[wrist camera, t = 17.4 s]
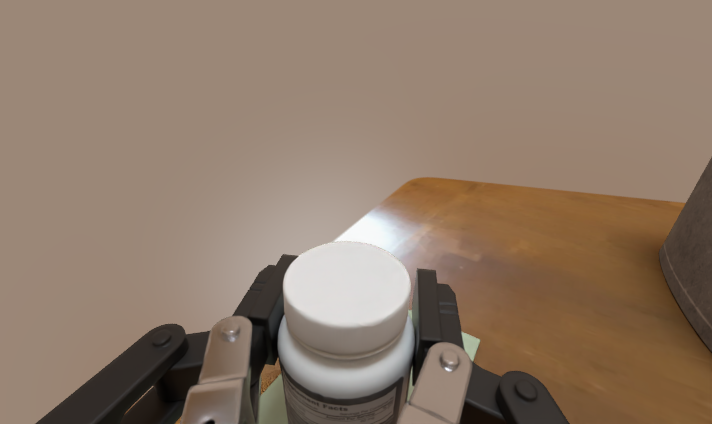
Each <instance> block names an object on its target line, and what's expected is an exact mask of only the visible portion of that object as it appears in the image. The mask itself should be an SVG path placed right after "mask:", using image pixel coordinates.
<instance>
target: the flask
mask: <svg viewBox="0 0 712 424" xmlns="http://www.w3.org/2000/svg"><path fill="white" fill-rule="evenodd" d="M659 259H660V264H661V268H662V271H663V274H664V276H665V279H666V281H667V283H668V285H669V288H670V290H671V291H672V293H673V295H674V297H675V299H676V301H677V302H678V304H679V306H680V308H681V309H682V311H683V313H684V314H685V316H686V317H687V319H688V320H689V322H690V323H691V325H692V326H693V328H694V329H695V331H696V332H697V333H698V335H699V336H700V337H701V339H702V340H703V342H704V343H705V344H706V346H707V347H708V348H709V349H710V351H711V352H712V158H711V159H710V161H709V163H708V165H707V167H706V169H705V170H704V172H703V174H702V175H701V177H700V179H699V181H698V183H697V184H696V186H695V188H694V190H693V192H692V193H691V195H690V197H689V199H688V201H687V202H686V204H685V206H684V208H683V210H682V211H681V213H680V215H679V217H678V219H677V220H676V222H675V224H674V226H673V228H672V229H671V231H670V233H669V235H668V236H667V238H666V240H665V242H664V244H663V245H662V247H661V249H660V251H659Z"/></svg>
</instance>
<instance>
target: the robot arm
mask: <svg viewBox="0 0 712 424" xmlns="http://www.w3.org/2000/svg"><path fill="white" fill-rule="evenodd" d="M297 257H298V256H295V255H286V254H285V255H284V254H283V255H282V256H281V258H280V260H279V261H278V263H277V265H276V266H275V265H269V266H267V267H266V268H265V269H264V270H262V271H261V272H259V274H258V276H257V277H256V279H255V281H254V283H253V284H252V285H251V287H250V290H248V292H247V293H246V295H245V296H244V298H243V299H242V301H241V303H240V304H239V306H238V307H237V309H236V311H235V312H234V314H233V315H232V316H231V317H228V318H225V319H223V320H221V321H219V322H218V323H217V324H215V325H214V327H213V328H212V330H211V331H207V332H200V333H193V334H186V333H185V330H184V329H183V327H182V326H180V325H177V324H165V325H161V326H159V327H156V328H154V329H152V330H151V331H149V332H148V333H147V334H145V335H144V336H143V337H142V338H140V339H139V340H138V341H137V342H135V343H134V344H133V345H132V346H131V347H129V348H128V349H127V350H126V351H124V352H123V353H122V354H121V355H119V356H118V357H117V358H116V359H115V360H113V361H112V362H111V363H110V364H108V365H107V366H106V367H105V368H103V369H102V370H101V371H100V372H99V373H97V374H96V375H95V376H94V377H92V378H91V379H90V380H89V381H87V382H86V383H85V384H84V385H83V386H81V387H80V388H79V389H78V390H76V391H75V392H74V393H73V394H71V395H70V396H69V397H68V398H66V399H65V400H64V401H63V402H62V403H60V404H59V405H58V406H57V407H55V408H54V409H53V410H52V411H51V412H49V413H48V414H47V415H46V416H44V417H43V418H42V419H41V420H39V421H38V422H37V423H36V424H175V423H176V421H177V420H178V419H179V418H180V417H181V416H182V417H181V421H180V424H259V412H260V395H261V372H262V370H263V368H264V365H265V364H269V365H275V363H276V360H277V358H278V346H277V345H278V332H279V327H280V324H281V321H282V318H283V316H284V314H285V313H284V296H283V280H284V276H285V273H286V271H287V269H288V268H289V266H290V264H291V263H292V262H293V261H294V260H295V259H296V258H297ZM412 323H413V326H414V332H415V352H414V357H413V363H412V386H414V389H413V391H412V394H411V396H410V399H409V401H406V402H405V404H404V406H403V408H402V411H401V413H400V416H399V418H398V421H397V423H396V424H569V422H568V421H567V419H566V418H565V416H564V415H563V413H562V412H561V410H560V408H559V407H558V405H557V404H556V402H555V401H554V399H553V398H552V396H551V395H550V393H549V392H548V390H547V389H546V387H545V386H544V385H543V384H542V383H541V382H540V381H539V380H538V379H536V378H535V377H533V376H531V375H529V374H527V373H524V372H521V371H510V372H507V373H505V374H504V375H503V376H502V377H501V376H498V375H496V374H494V373H491V372H489V371H486V370H484V369H482V368H481V367H479V366H478V365H476V364H475V363H474V362H473V361H472V360H471V359H470V357H469V355H468V354H467V353H466V351H465V349H464V344H463V338H462V332H461V326H460V320H459V315H458V308H457V302H456V296H455V293H454V292H453V291H452V289H451V288H450V286H449V285H447V284H438V283H437V278H436V271H435V270H427V269H418V268H417V271H416V278H415V286H414V293H413V302H412ZM152 386H154V387H153V388H151V387H152ZM150 388H151V389H150ZM149 389H150V390H149ZM148 390H149V391H148ZM147 391H148V392H147ZM146 392H147V393H146ZM144 393H146V394H145V395H144V396H143V397H142V398H141V399H140V400H139V401H138V402H137V403H136V404H135V405H134V406H133V407H132V408H131V409H130V410H129V411H128V412H127V413H126V411H127V410H128V409H129V408H130V407H131V406H132V405H133V404H134V403H135V402H136V401H137V400H138V399H139V398H140V397H141V396H142V395H143V394H144ZM125 413H126V414H125ZM124 414H125V415H124Z"/></svg>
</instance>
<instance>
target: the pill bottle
mask: <svg viewBox="0 0 712 424" xmlns="http://www.w3.org/2000/svg"><path fill="white" fill-rule="evenodd" d="M410 294H411V282H410V277H409V274H408V272H407V270H406V268H405V267H404V265H403V264H402V263H401V262H400V260H398V259H397V258H396V257H395V256H393V255H392V254H391V253H389V252H387V251H385V250H383V249H381V248H379V247H377V246H373V245H371V244H366V243H360V242H351V241H342V242H332V243H327V244H323V245H320V246H317V247H314V248H312V249H310V250H308V251H306V252H304V253H303V254H301V255H300V256H298V257H297V258H296V259H295V260H294V261H293V262H292V263H291V264H290V266H289V268H288V269H287V271H286V273H285V276H284V280H283V296H284V313H285V314H284V316H283V318H282V321H281V324H280V327H279V332H278V345H277V346H278V357H279V363H280V368H281V375H282V380H283V389H284V397H285V404H286V412H287V418H288V424H396V423H397V421H398V418H399V416H400V413H401V411H402V408H403V406H404V404H405V402H406V401H407V397H408V390H409V383H410V376H411V369H412V363H413V357H414V352H415V332H414V326H413V323H412V320H411V318H410V316H409V314H408V311H409V302H410Z"/></svg>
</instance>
